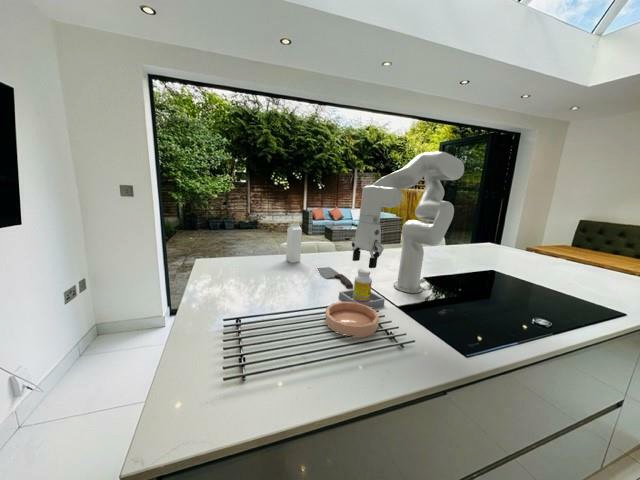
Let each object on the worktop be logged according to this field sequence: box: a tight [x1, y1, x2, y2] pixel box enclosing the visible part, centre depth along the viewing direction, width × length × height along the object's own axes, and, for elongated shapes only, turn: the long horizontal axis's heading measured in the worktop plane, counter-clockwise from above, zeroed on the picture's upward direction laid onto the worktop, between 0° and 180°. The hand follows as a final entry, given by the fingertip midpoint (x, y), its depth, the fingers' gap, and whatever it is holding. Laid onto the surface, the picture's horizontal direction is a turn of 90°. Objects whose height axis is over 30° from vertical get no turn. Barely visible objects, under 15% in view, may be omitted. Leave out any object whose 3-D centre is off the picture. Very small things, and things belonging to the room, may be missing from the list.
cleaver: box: [317, 266, 354, 289], centre depth 132 cm, size 29×10×2 cm, turn 24°
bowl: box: [324, 301, 380, 338], centre depth 89 cm, size 17×17×4 cm
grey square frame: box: [338, 288, 385, 308], centre depth 106 cm, size 13×13×2 cm
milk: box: [285, 222, 303, 264], centre depth 152 cm, size 6×6×22 cm
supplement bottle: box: [352, 268, 373, 303], centre depth 105 cm, size 7×7×13 cm
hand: (363, 264), depth 103 cm, fingers open, 9 cm apart
